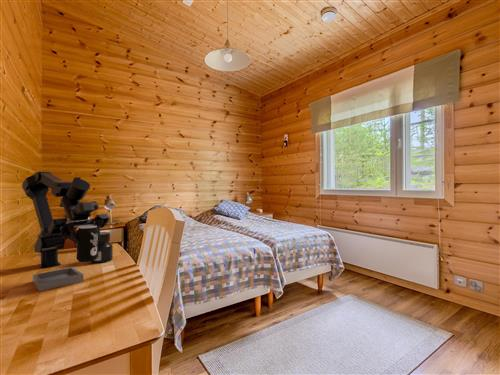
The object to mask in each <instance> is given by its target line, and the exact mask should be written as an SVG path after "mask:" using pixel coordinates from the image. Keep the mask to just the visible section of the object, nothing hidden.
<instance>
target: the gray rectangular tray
mask: <svg viewBox="0 0 500 375" xmlns="http://www.w3.org/2000/svg"><path fill="white" fill-rule="evenodd" d="M81 282H82V283H83V282H84V274H83V273H82V272H81V271H79V270H78V269H77V268H76V267H74V266H71V267H64V268H61V269H55V270H50V271H45V272H40V273H34V274H32V283H33V284H34V286H35V287H36V290H38V292H44V291H47V290H51V289H56V288H60V287H64V286H70V285H73V284H78V283H81Z"/></svg>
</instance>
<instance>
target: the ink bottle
mask: <svg viewBox="0 0 500 375" xmlns="http://www.w3.org/2000/svg"><path fill="white" fill-rule="evenodd" d="M110 241H111V232H110V231H109V232H108V231H100V240H99V241H98V257H97V259H96V260H94V261H90V263H94V264H102V263H106V262H110V261H112V260H113V258H114V257H113V256H114V255H113V254H114V253H113V252H114V250H113V248H114V245H113V244H112V243H111V242H110Z"/></svg>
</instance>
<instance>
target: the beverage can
mask: <svg viewBox="0 0 500 375" xmlns="http://www.w3.org/2000/svg"><path fill="white" fill-rule="evenodd" d="M77 228H78V230H77V229H76V234H77V236H78V238H79V240H80V244H79V245H78V244H76V248H75V249H76V253H75V255H76V256H75V257H76V260H77V261H78V262H79V263H89V262H90V261H94V260H96V259H97V257H98V229H97V226H96V225H84V226H77ZM90 263H91V262H90Z"/></svg>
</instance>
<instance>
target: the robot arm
mask: <svg viewBox="0 0 500 375" xmlns="http://www.w3.org/2000/svg"><path fill="white" fill-rule="evenodd" d="M21 187H22V188H21V189H22V190H23V192H24V194H25V195H26V196H27V198H29V199H30V200H32V203H33V208H34V211H35V213H36V214H35V215H36V217H37V220H38V223H39V227H40V231H39V234H38V235H37V239H36V242H35V244H34V247H33V248H34V252H35V253H37V254H40V263H38V264H37V265H38V267H39V268H40V269H45V268H50V267H55V266H60V265H62V264H61V262H59V250H63V249H65V244H66V239H68V240H70V241H71V242H73V243H74V244H75V245H77V244H78V245H79V244H80V240H79V238H78V236H77V231H76V230H75V228H76V227H77V228H78V227H79V226H84V225H96V226H97V229H98V241H99V240H100V232H101V229H103V228H105V226H107V223H108V222H109V220H110V216H109V215H108V214H107V213H101V214H96V215H95V217H94V218H90V217H91V216H92V213H93V212H95V211H97V210H98V209H99V208H100V207H99V203H98V202H97V200H92V201H90V202H89V201H88V202H86V201H85V202H81V200H83V199H84V198H85V197H86V194H87V193H88V191H89V190H90V187H91V184H90V183H89V182H87V181H86V180H85V179H81V177H78V176H77V177H76V176H74V177H73V179H72V181H69V180H63V179H60V178H59V177H57V176H55V175H54V174H53V173H52V172H50V171H36V172H34V173H33V174H32V175H30V176H28V177H26V178H25V179H24V180H23V182H22V184H21ZM49 188H50V189H51V191H50V193H51V194H52V195H53V196H54V197H55V198H61V199H60V203H59V207H60V208H63V210H64V212H65V214H64V217H60V218H59V217H58V218H54V217H53V215H52V211H51V207H50V205H49V201H48V197H47V194H48V192H49V190H50V189H49ZM88 217H89V218H90V219H89V218H88Z"/></svg>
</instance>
